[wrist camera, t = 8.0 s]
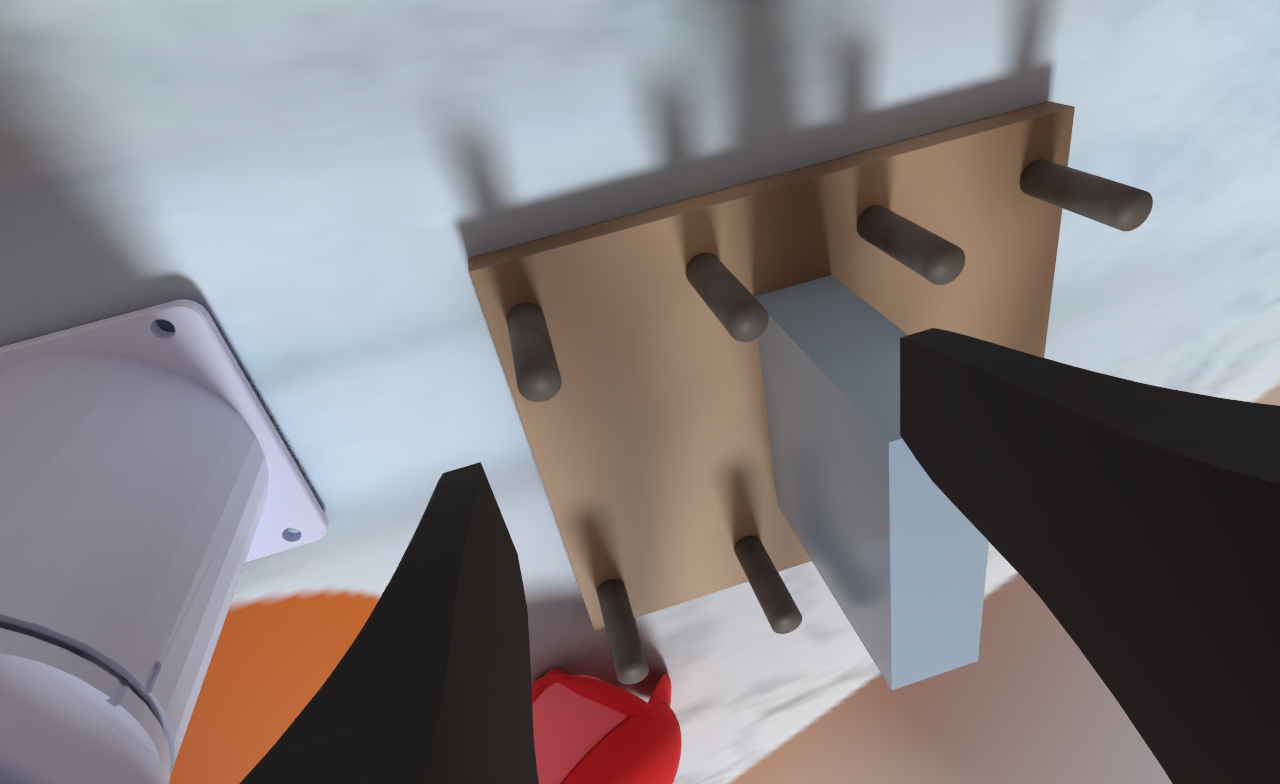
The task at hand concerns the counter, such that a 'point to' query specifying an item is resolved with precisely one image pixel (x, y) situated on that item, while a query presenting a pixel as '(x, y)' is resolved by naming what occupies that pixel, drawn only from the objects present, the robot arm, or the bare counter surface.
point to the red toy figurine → (603, 732)
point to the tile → (866, 484)
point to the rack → (756, 341)
